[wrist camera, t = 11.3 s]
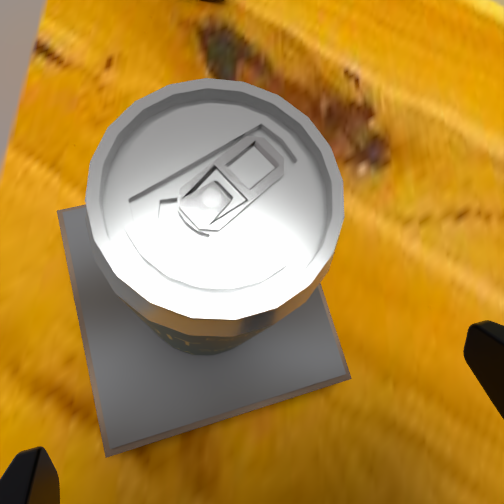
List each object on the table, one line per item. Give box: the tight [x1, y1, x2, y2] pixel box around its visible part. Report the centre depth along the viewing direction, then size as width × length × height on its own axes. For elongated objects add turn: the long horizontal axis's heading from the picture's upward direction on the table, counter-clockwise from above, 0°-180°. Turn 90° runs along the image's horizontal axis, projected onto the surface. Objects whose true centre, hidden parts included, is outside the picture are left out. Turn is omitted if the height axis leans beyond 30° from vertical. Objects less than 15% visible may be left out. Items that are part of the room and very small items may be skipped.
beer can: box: [85, 78, 344, 355], centre depth 14 cm, size 5×5×12 cm
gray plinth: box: [57, 205, 351, 457], centre depth 21 cm, size 11×11×3 cm
